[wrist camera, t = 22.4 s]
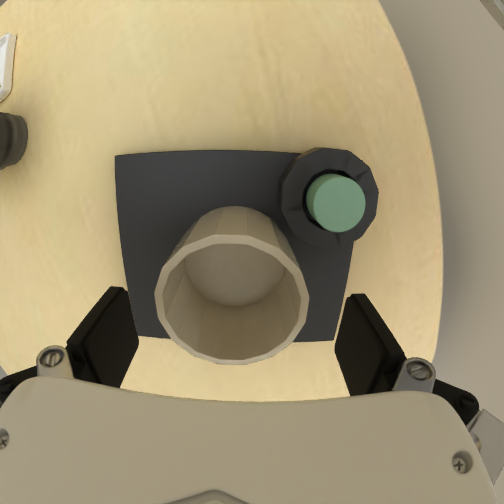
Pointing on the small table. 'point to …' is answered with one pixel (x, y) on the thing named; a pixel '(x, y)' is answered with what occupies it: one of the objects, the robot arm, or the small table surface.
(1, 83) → the phone case
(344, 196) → the button
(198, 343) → the beige cup
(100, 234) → the small table surface
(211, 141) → the small table surface
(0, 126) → the beverage cup
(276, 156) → the scale
